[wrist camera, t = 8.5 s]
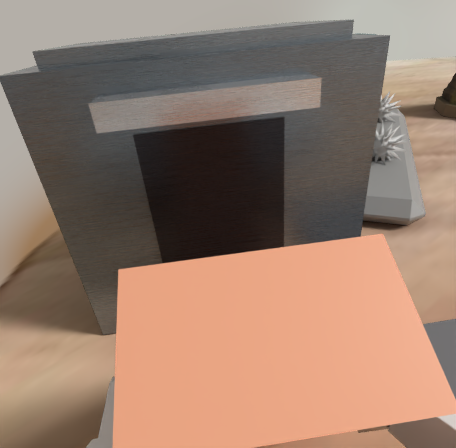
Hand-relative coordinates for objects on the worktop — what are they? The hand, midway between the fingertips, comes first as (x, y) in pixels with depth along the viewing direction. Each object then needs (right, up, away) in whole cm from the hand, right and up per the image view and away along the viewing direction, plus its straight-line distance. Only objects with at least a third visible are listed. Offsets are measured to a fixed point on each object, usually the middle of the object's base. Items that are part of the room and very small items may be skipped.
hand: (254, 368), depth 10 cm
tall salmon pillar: (0, -3, +4) cm, 5 cm away
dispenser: (-1, +1, +13) cm, 13 cm away
